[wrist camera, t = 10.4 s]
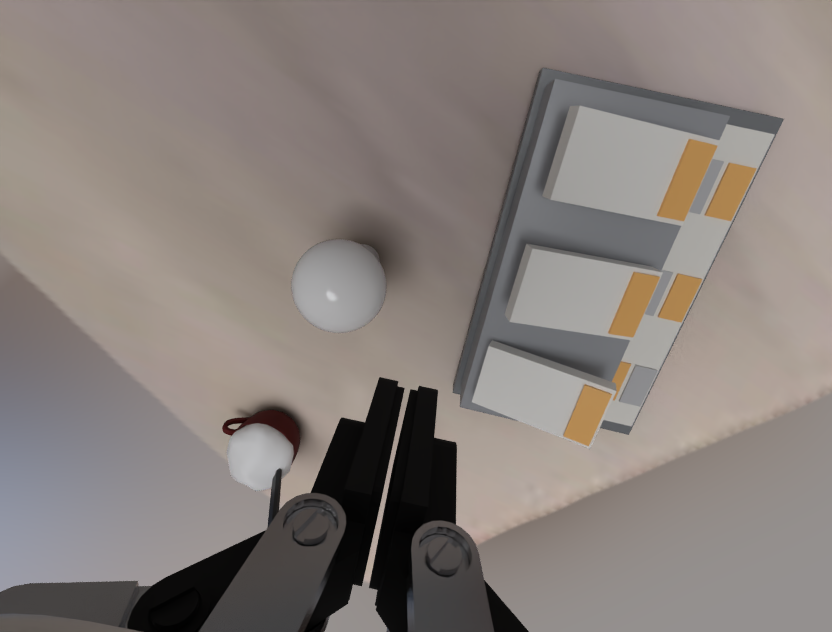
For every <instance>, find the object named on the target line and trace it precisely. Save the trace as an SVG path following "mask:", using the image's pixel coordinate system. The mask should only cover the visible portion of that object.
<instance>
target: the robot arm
mask: <svg viewBox="0 0 832 632" xmlns="http://www.w3.org/2000/svg"><path fill="white" fill-rule="evenodd" d="M397 385H398V381H395V380H390V379H385V378H381V377H380V378H379V380H378V383H377V387H376V390H375V393H374V396H373V399H372V403H371V406H370V409H369V412H368V415H367V418H366V422H360V421H356V420H351V419H346V418H341V419H340V421H339V423H338V426H337V428H336V431H335V433H334V436H333V438H332V441H331V443H330V446H329V448H328V451H327V453H326V456H325V458H324V461H323V463H322V466H321V468H320V471H319V473H318V476H317V478H316V481H315V483H314V486H313V488H312V491H311V493H305V494H302V495H299V496H296V497H294V498H292V499H291V500H289V501H288V502H286V503H285V504H284V506H283V507H282V508H281V509H280V510H279V512H278V513H277V515H276V516H275V518H274V519H273V521H272V522H271V524H270V525H269V527H268V528H267V530H266V531H263V532H261V533H259V534H257V535H255V536H253V537H250V538H248V539H247V540H244V541H242V542H240V543H238V544H236V545H233V546H231V547H229V548H227V549H225V550H223V551H221V552H219V553H217V554H214V555H212V556H210V557H208V558H206V559H204V560H202V561H200V562H197V563H195V564H193V565H191V566H189V567H187V568H185V569H183V570H180V571H178V572H176V573H174V574H172V575H170V576H168V577H166V578H164V579H162V580H161V581H159V582H157V583H156V584H154V585H153V586H138V581H119V582H118V581H117V582H76V583H74V582H73V583H34V584H33V583H32V584H31V583H30V584H24V585H19V586H14V587H11V588H9V589H6V590H4V591H2V592H0V632H324V631H325V629H326V626H327V624H328V620H329V616H330V615H331V614H333V613H335V612H336V611H338V610H339V609H341V608H342V607H344V606H345V605H347V604H348V601H349V599H350V594H351V590H352V585H353V584H354V585H358V586H362V583H363V579H364V574H365V570H366V565H367V561H368V556H369V552H370V547H371V543H372V538H373V534H374V529H375V525H376V521H377V516H378V512H379V507H380V503H381V498H382V493H383V489H384V484H385V479H386V474H387V470H388V465H389V460H390V455H391V451H392V446H393V441H394V436H395V431H396V427H397V422H398V417H399V412H400V407H401V403H402V398H403V393H404V388H402V387H398V386H397ZM437 396H438V390H436V389H431V388H426V387H422V386H419V388H418V391H416V390H410V394H409V398H408V402H407V407H406V411H405V415H404V420H403V424H402V429H401V433H400V437H399V442H398V446H397V450H396V455H395V459H394V463H393V468H392V473H391V478H390V483H389V488H388V493H387V499H386V504H385V509H384V514H383V519H382V524H381V529H380V534H379V539H378V545H377V550H376V555H375V560H374V565H373V570H372V575H371V580H370V586H369V588H372V589H377V590H378V591H377V597H376V602H375V605H376V606H377V608H376V611H377V612H378V614H379V615H380V617H381V619H382V620H383V622H384V623H385V625H386V626H387V632H528V630H527V629H526V628H525V627H524V626H523V624H521V622H520V621H519V620H518V619H517V617H516V616H515V615H514V614H513V613H512V612H511V611H510V609H509V608H508V607H507V606H506V605H505V604H504V602H503V601H502V600H501V599H500V598H499V597H498V596H497V594H496V593H495V592H494V591H493V590H492V588H491V587H490V586H489V585H488V584H487V583H486V582H485V580H484V577H483V572H482V567H481V562H480V557H479V553H478V550H477V547H476V544H475V542H474V541H473V539H472V538H471V537H470V535H469V534H468V533H467V532H466V531H464V530H463V529H462V528H461V527H459V526H457V525H456V466H457V445H456V442H451V441H446V440H442V439H437V438H434V432H435V420H436V408H437Z"/></svg>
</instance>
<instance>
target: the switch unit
mask: <svg viewBox="0 0 832 632" xmlns="http://www.w3.org/2000/svg"><path fill="white" fill-rule="evenodd" d="M570 106H584V107H588V108H592V109H596V110H600V111H604V112H608V113H612V114H616V115H620V116H624V117H628V118H632V119H636V120H640V121H644V122H648V123H652V124H656V125H660V126H664V127H668V128H672V129H676V130H680V131H684V132H688V133H692V134H696V135H700V136H704V137H708V138H712V139H716V140H720V143H719V145H718V147H717V150H716V152H715V154H714V156H713V159H712V161H711V163H710V165H709V168H708V170H707V172H706V174H705V177H704V179H703V181H702V183H701V185H700V188H699V190H698V192H697V194H696V197H695V199H694V201H693V203H692V206H691V208H690V210H689V212H688V215H687V217H686V219H685V221H684V224H683V226H679V225H674V224H669V223H664V222H659V221H654V220H649V219H644V218H639V217H634V216H629V215H624V214H619V213H614V212H609V211H604V210H599V209H594V208H589V207H584V206H579V205H574V204H569V203H564V202H559V201H554V200H550V199H547V198H545V197H543V196H542V195H543V192H544V189H545V185H546V182H547V179H548V176H549V172H550V169H551V166H552V163H553V159H554V156H555V153H556V150H557V146H558V143H559V140H560V137H561V134H562V130H563V127H564V124H565V121H566V117H567V114H568V111H569V108H570ZM783 120H784V119H782V118H778V117H773V116H768V115H764V114H759V113H754V112H749V111H745V110H740V109H735V108H731V107H726V106H721V105H716V104H712V103H707V102H702V101H698V100H693V99H688V98H683V97H679V96H674V95H669V94H665V93H660V92H655V91H651V90H646V89H641V88H636V87H632V86H627V85H622V84H618V83H613V82H608V81H603V80H599V79H594V78H589V77H585V76H580V75H575V74H571V73H566V72H561V71H556V70H552V69H547V68H542V69H541V70H540V72H539V75H538V79H537V83H536V86H535V90H534V94H533V97H532V101H531V104H530V108H529V112H528V115H527V119H526V123H525V126H524V130H523V133H522V137H521V141H520V144H519V148H518V152H517V155H516V159H515V162H514V166H513V170H512V173H511V177H510V181H509V184H508V188H507V191H506V195H505V199H504V202H503V206H502V210H501V213H500V217H499V220H498V224H497V228H496V231H495V235H494V239H493V242H492V246H491V249H490V253H489V257H488V260H487V264H486V268H485V271H484V275H483V278H482V282H481V286H480V289H479V293H478V297H477V300H476V304H475V307H474V311H473V315H472V318H471V322H470V326H469V329H468V333H467V336H466V340H465V344H464V347H463V351H462V355H461V358H460V362H459V365H458V369H457V373H456V376H455V380H454V384H453V393H456V394H460V407H462V408H466V409H470V410H474V411H479V412H483V413H487V414H491V415H495V416H499V417H504V418H508V419H512V420H515V419H513V418H510V417H508V416H505V415H503V414H500V413H498V412H495V411H493V410H490V409H488V408H485V407H483V406H480V405H478V404H475V403H473V402H472V399H473V396H474V393H475V389H476V386H477V383H478V379H479V376H480V373H481V369H482V366H483V363H484V360H485V356H486V353H487V350H488V346H489V344H490V343H491V341H492V340H493V341H496V342H499V343H502V344H505V345H508V346H511V347H513V348H516V349H519V350H522V351H525V352H528V353H531V354H534V355H536V356H539V357H542V358H545V359H548V360H551V361H554V362H556V363H559V364H562V365H565V366H568V367H571V368H574V369H576V370H579V371H582V372H585V373H588V374H591V375H594V376H596V377H599V378H602V379H605V380H608V381H611V382H614V383H616V390H617V391H616V393H615V396H614V398H613V400H612V402H611V404H610V407H609V409H608V411H607V413H606V415H605V418H604V420H603V422H602V424H601V426H600V428H603V429H607V430H611V431H615V432H619V433H623V434H628V435H629V433H630V431H631V429H632V427H633V425H634V423H635V421H636V419H637V417H638V415H639V413H640V411H641V409H642V407H643V405H644V402H645V400H646V398H647V396H648V394H649V392H650V390H651V388H652V386H653V384H654V382H655V380H656V378H657V376H658V374H659V372H660V370H661V368H662V366H663V364H664V362H665V360H666V358H667V356H668V354H669V352H670V350H671V348H672V346H673V344H674V342H675V339H676V337H677V335H678V333H679V331H680V329H681V327H682V325H683V323H684V321H685V319H686V317H687V315H688V313H689V311H690V309H691V307H692V305H693V303H694V301H695V299H696V297H697V295H698V293H699V291H700V289H701V287H702V285H703V283H704V281H705V279H706V276H707V274H708V272H709V270H710V268H711V266H712V264H713V262H714V260H715V258H716V256H717V254H718V252H719V250H720V248H721V246H722V244H723V242H724V240H725V238H726V236H727V234H728V232H729V230H730V228H731V226H732V224H733V222H734V220H735V218H736V216H737V213H738V211H739V209H740V207H741V205H742V203H743V201H744V199H745V197H746V195H747V193H748V191H749V189H750V187H751V185H752V183H753V181H754V179H755V177H756V175H757V173H758V171H759V169H760V167H761V165H762V163H763V161H764V159H765V157H766V155H767V153H768V150H769V148H770V146H771V144H772V142H773V140H774V138H775V136H776V134H777V132H778V130H779V128H780V126H781V124H782V122H783ZM526 244H532V245H537V246H543V247H548V248H554V249H559V250H564V251H570V252H575V253H581V254H586V255H592V256H597V257H603V258H608V259H613V260H619V261H624V262H630V263H635V264H641V265H646V266H651V267H654V268H656V269H658V270H660V271H662V272H663V274H662V276H661V278H660V280H659V283H658V285H657V287H656V289H655V292H654V294H653V296H652V298H651V301H650V303H649V305H648V307H647V309H646V312H645V314H644V316H643V318H642V321H641V323H640V325H639V327H638V330H637V332H636V334H635V336H634V338H633V341H632V340H626V339H619V338H612V337H606V336H599V335H593V334H586V333H579V332H573V331H566V330H560V329H553V328H546V327H540V326H533V325H527V324H520V323H513V322H509V320H508V319H507V317H506V316H505V311H506V308H507V305H508V301H509V298H510V295H511V292H512V288H513V285H514V282H515V279H516V275H517V272H518V269H519V266H520V262H521V259H522V256H523V253H524V249H525V246H526ZM516 421H518V420H516Z"/></svg>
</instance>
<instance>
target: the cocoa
mask: <svg viewBox="0 0 832 632" xmlns="http://www.w3.org/2000/svg"><path fill="white" fill-rule="evenodd" d="M238 423H243V424H241V425H240V426H239V428H238V429H235V430H234V429H230V428H228V427H227V426H229V425H231V424H238ZM222 429H223V432H224V433H225V434H228V435H232V436H231V438H230V440H229V444H228V449H227V457H228V463H229V468H230V473H231V476H232V477H233V478H234V479H235V480H236V481H237V482H239V483H242V484H244V485H247V486H248V487H250V488H252V489H254V490H255V491H260V490H266V489H270V488H271V498H270V509H269V518H268V527H269V525H270V524H271V522H272V521H273V519H274V518H275V516H276V515H277V513H278V512H279V502H280V489H281V479H282V478H283V477H284V476H285V475H286V474H287V473H288V472H289V471H290V468H291V465H292V463H293V461H294V459H295V456H296V454H297V452H298V449H299V445H300V434H299V428H298V427H297V425H296V424H295V422H294V421H293V419H292V418H291V417H289V416H288V415H286V414H285V413H283V412H279V411H275V410H267V411H261V412H258V413H256V414H255V415H253V416H252V417H242V418H233V419H230V420H227V421H226V422H225V423H224V425H223V427H222Z"/></svg>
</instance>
